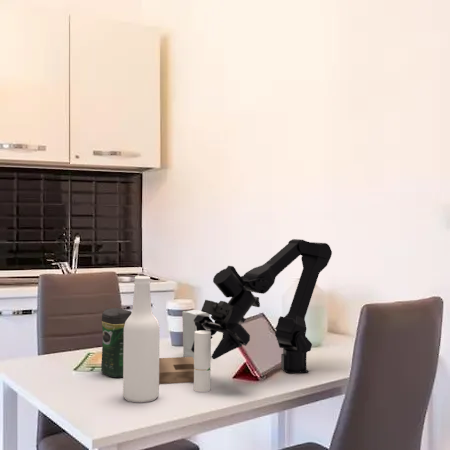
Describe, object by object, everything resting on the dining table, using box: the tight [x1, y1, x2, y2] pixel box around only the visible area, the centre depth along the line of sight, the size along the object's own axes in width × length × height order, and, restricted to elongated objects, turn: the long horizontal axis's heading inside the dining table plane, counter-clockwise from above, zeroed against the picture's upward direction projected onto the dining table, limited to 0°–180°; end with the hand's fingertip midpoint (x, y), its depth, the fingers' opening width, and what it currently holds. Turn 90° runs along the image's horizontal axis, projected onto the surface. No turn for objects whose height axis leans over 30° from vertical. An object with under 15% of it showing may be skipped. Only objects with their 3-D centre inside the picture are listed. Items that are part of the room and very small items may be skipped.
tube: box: [193, 330, 212, 393], centre depth 152 cm, size 4×4×15 cm
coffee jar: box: [100, 307, 132, 378], centre depth 166 cm, size 10×8×19 cm
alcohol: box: [122, 275, 161, 404], centre depth 145 cm, size 9×9×30 cm
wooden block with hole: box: [159, 356, 194, 385], centre depth 166 cm, size 14×16×3 cm
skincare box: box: [181, 309, 211, 359], centre depth 186 cm, size 8×6×15 cm
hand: (202, 354), depth 152 cm, fingers open, 9 cm apart
